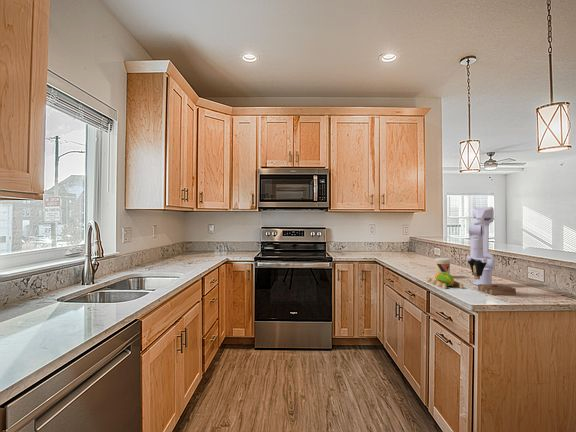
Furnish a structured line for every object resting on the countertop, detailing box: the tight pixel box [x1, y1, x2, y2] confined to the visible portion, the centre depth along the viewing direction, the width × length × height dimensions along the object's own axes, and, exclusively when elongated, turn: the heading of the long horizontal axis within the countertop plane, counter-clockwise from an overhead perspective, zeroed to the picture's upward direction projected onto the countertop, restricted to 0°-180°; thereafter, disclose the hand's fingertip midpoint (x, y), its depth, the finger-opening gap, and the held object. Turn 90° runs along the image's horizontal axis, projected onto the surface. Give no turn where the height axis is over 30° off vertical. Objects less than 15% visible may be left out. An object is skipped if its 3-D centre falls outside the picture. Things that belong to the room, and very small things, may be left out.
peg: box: [472, 265, 480, 280], centre depth 173 cm, size 3×3×7 cm
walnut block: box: [477, 283, 517, 296], centre depth 175 cm, size 12×12×3 cm
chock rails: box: [426, 276, 464, 290], centre depth 196 cm, size 23×10×2 cm, turn 1°
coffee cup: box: [434, 257, 451, 275], centre depth 219 cm, size 9×9×12 cm
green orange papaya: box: [434, 272, 455, 287], centre depth 196 cm, size 7×8×20 cm
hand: (477, 275), depth 173 cm, fingers closed on peg, 3 cm apart
